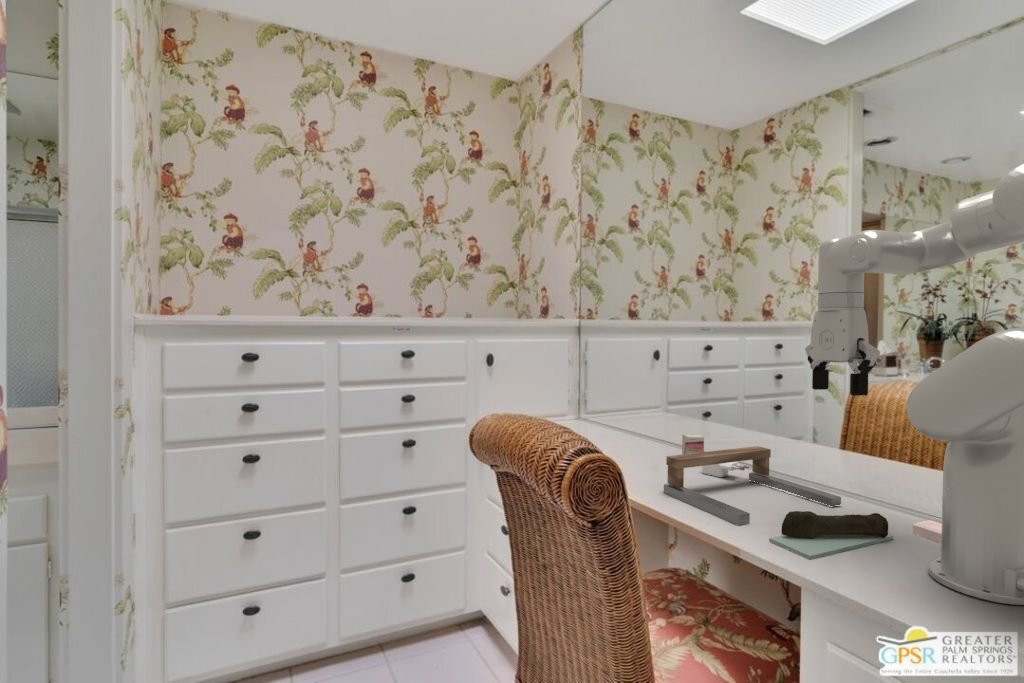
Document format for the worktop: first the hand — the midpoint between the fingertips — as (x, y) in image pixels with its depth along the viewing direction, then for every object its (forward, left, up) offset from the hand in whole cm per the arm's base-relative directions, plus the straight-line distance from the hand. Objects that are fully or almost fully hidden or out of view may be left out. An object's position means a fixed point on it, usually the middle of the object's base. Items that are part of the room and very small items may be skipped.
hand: (838, 392), depth 101 cm
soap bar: (-12, -13, -27) cm, 32 cm away
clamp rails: (+19, +2, -26) cm, 33 cm away
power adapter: (+35, -7, -26) cm, 44 cm away
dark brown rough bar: (-4, +7, -26) cm, 27 cm away
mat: (-4, +7, -26) cm, 28 cm away
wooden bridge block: (+28, +2, -24) cm, 37 cm away
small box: (+50, -10, -26) cm, 57 cm away
